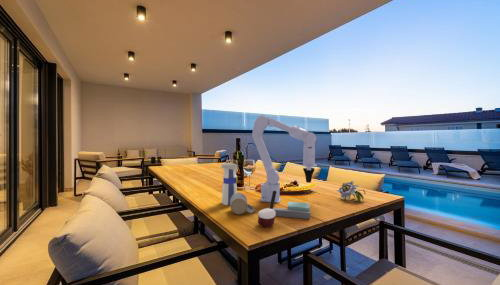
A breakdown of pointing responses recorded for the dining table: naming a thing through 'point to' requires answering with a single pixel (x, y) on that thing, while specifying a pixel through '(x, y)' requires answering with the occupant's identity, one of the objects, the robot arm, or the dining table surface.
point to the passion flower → (350, 191)
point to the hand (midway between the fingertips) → (308, 182)
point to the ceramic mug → (240, 204)
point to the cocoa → (267, 214)
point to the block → (298, 206)
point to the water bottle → (229, 182)
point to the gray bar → (292, 213)
